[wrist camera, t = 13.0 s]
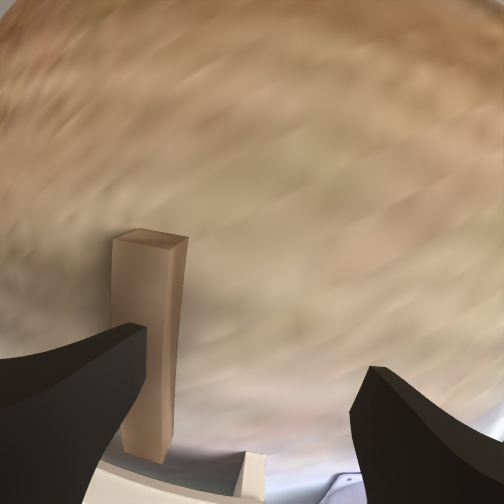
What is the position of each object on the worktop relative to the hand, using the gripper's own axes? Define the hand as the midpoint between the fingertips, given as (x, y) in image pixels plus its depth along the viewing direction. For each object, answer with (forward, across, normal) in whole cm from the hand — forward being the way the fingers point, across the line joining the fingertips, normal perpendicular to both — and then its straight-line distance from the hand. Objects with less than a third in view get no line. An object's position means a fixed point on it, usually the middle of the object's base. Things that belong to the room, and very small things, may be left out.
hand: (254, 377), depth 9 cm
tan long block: (+9, +6, +6) cm, 12 cm away
